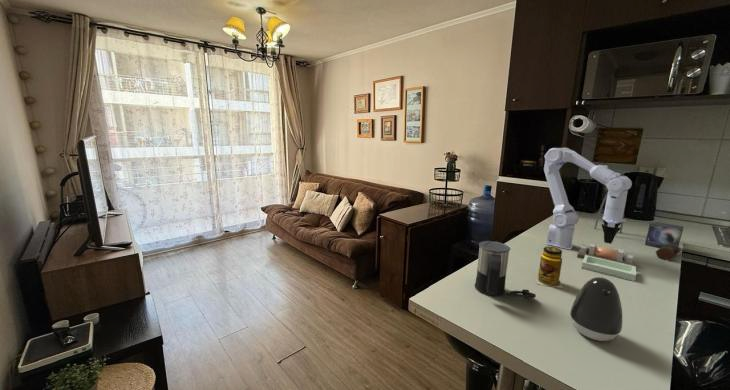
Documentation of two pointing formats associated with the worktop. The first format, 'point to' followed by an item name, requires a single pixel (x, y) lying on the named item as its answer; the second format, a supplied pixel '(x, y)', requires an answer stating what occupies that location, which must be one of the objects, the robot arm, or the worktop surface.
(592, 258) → the parts tray
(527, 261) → the worktop surface
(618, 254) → the fuse
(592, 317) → the dark grey egg dome
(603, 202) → the juicer
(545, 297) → the worktop surface
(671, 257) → the brown elongated lump
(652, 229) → the picture frame
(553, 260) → the condiment
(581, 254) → the frame
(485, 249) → the milk frother
